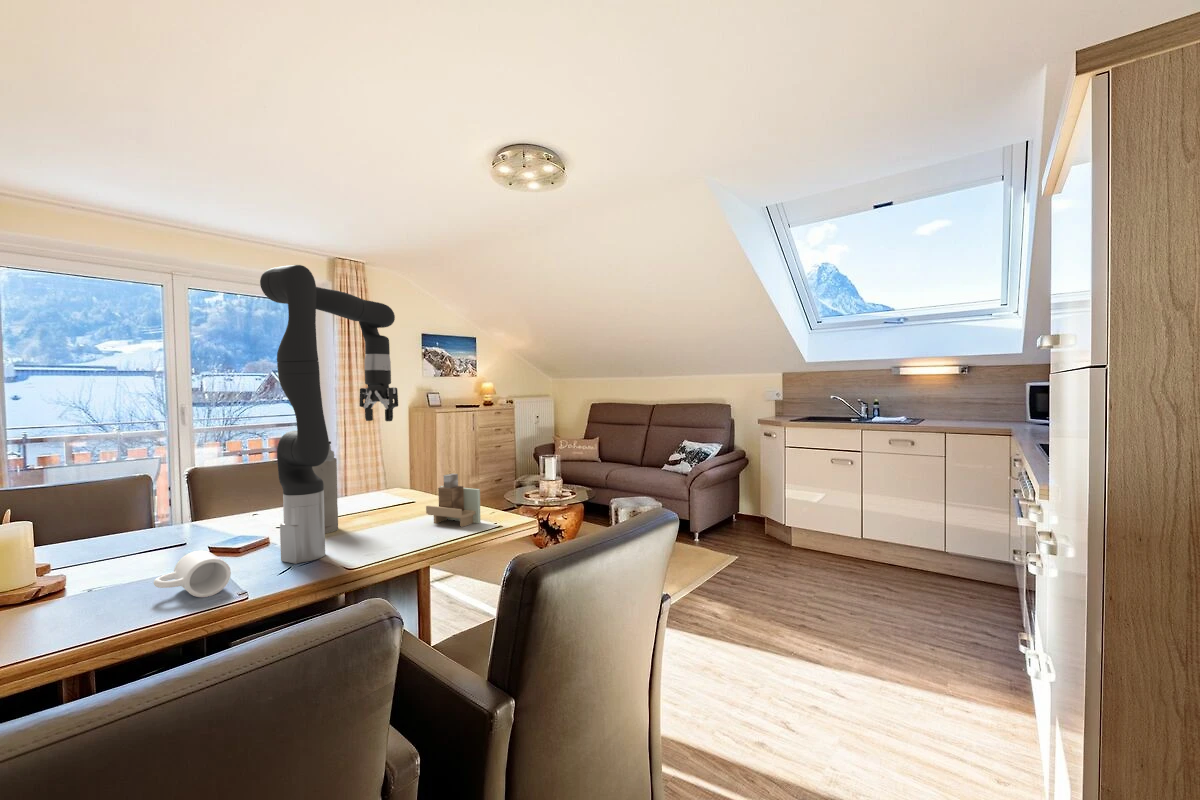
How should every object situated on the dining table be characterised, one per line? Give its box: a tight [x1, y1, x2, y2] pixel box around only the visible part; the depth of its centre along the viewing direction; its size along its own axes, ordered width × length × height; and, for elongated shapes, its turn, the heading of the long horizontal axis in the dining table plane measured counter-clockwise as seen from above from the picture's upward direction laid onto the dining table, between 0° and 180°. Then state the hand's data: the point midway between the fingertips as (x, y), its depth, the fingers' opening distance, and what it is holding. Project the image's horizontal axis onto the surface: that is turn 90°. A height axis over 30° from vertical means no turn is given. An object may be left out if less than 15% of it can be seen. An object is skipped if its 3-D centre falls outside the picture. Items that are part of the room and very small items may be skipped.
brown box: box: [438, 473, 464, 511], centre depth 167 cm, size 5×6×12 cm
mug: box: [153, 550, 232, 598], centre depth 111 cm, size 12×10×8 cm
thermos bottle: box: [312, 441, 339, 534], centre depth 161 cm, size 8×8×28 cm
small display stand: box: [425, 485, 481, 527], centre depth 167 cm, size 9×16×11 cm, turn 65°
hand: (379, 421), depth 161 cm, fingers open, 8 cm apart
